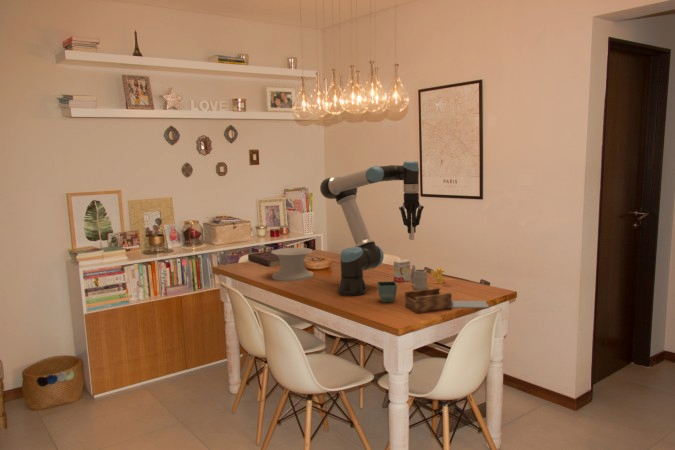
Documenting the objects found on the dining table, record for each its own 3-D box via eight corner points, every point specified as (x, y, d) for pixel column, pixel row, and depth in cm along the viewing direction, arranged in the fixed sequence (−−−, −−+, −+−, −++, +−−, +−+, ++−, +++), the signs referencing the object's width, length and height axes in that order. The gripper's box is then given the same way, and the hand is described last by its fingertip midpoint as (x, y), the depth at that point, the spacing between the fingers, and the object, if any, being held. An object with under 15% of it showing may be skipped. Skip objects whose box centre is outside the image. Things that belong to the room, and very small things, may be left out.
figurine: (452, 286, 293) (452, 270, 292) (430, 284, 298) (430, 268, 297) (457, 281, 304) (457, 266, 303) (436, 279, 309) (436, 264, 308)
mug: (419, 291, 285) (419, 268, 283) (405, 286, 295) (405, 265, 293) (430, 288, 289) (430, 266, 287) (416, 284, 299) (416, 263, 297)
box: (416, 313, 245) (416, 297, 244) (405, 306, 257) (405, 291, 256) (451, 308, 251) (451, 293, 250) (438, 302, 262) (438, 287, 261)
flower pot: (394, 298, 271) (394, 281, 270) (397, 303, 262) (397, 285, 261) (377, 299, 271) (377, 281, 270) (379, 304, 262) (379, 285, 261)
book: (297, 262, 370) (297, 255, 370) (268, 267, 358) (268, 260, 357) (275, 256, 395) (275, 250, 395) (248, 260, 382) (247, 254, 382)
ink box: (398, 282, 304) (398, 262, 302) (393, 281, 308) (393, 260, 307) (410, 280, 308) (410, 260, 307) (405, 279, 312) (405, 259, 311)
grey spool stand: (265, 280, 319) (264, 254, 317) (281, 271, 343) (281, 247, 341) (304, 282, 312) (304, 255, 309) (319, 273, 335) (318, 248, 333)
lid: (449, 309, 252) (449, 302, 252) (447, 303, 262) (447, 296, 262) (488, 309, 250) (488, 302, 250) (485, 303, 261) (485, 296, 260)
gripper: (402, 193, 262) (403, 241, 265) (426, 192, 266) (426, 239, 269) (396, 192, 269) (396, 239, 272) (419, 191, 273) (419, 237, 276)
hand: (411, 239), depth 270 cm, fingers closed
